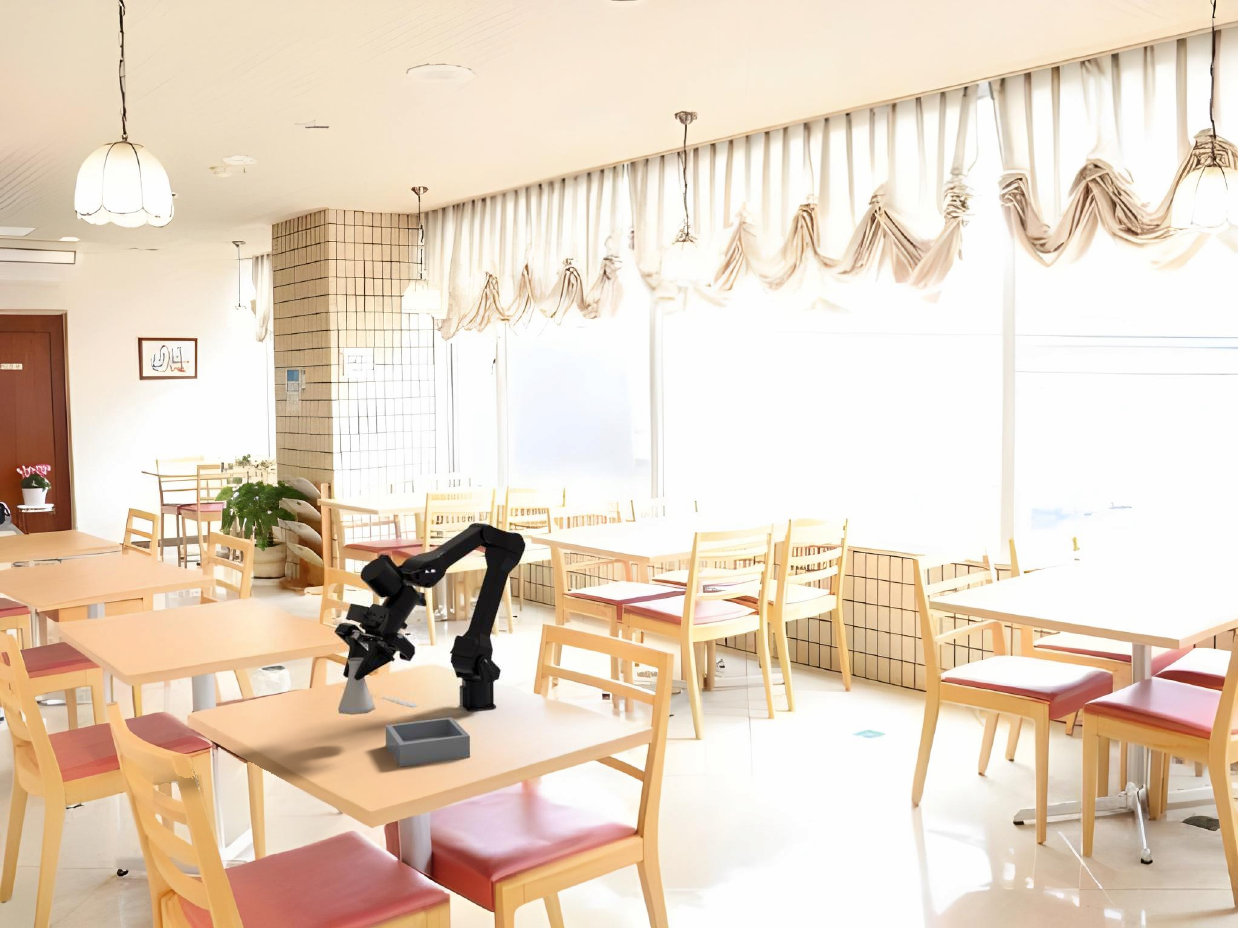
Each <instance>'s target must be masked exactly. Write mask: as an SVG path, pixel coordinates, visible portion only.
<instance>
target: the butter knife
mask: <svg viewBox="0 0 1238 928" xmlns="http://www.w3.org/2000/svg"><path fill="white" fill-rule="evenodd" d="M380 696H381V695H380ZM381 697H382V698H381V699H382V700H385V699H387V700H386V701H390V702H392V703H395V702H396V703H395V704H398V705H401V706H404V705H406V707H410V708H417V707H418V704H416V703H414V702H409V701H405V700H400V699H395V698H391V697H386V696H381Z"/></svg>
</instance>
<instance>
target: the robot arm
mask: <svg viewBox="0 0 1238 928" xmlns="http://www.w3.org/2000/svg"><path fill="white" fill-rule="evenodd" d="M479 547H482V548H485V550H484V558H485V563H486V571H485V574H484V578H483V580H482V583H481V587H480V590H479V594H478V597H477V600H476V602H475V603H476V604H475V606H474V609H473V613H472V616H471V620H470V623H469V627H468V629H467V630H466V632H465V633H464V634H462V635H456V636H455V638H454V642H453V646H452V648H451V649H450V652H449V654H451V655H450V664H451V665H452V668H453V669H454V670H453V671H454V673H455V676H456V678H457V679H458V678H459V679H461V685H459V704H460V706H461V707H462V708H463V709H464V710H465V711H466V712H475V711H476V712H477V711H482V710H491V709H496V708H497V705H496V704H495V703H494V702H495V700H494V698H495V697H494V696H495V695H494V693H495V692H494V690H495V689H494V687H495V686H494V683H495V682H496V681H497V680H499V679H500V675H501V670H502V669H501V668H500V667H499V666H498V665H497V664H496V663H495V662H494V661H493V660H492V658H493V651H494V650H493V644H492V640H491V639H492V638H491V634H492V631H493V628H494V625H495V621H496V618H497V614H498V611H499V607H500V604H501V601H502V597H503V595H504V591H505V588H506V584H507V581H508V578H509V575H510V573H511V572H512V571H513V570H514V569H515V568H516V567H517V566H518V564H520V562H521V561H522V560H521V559H522V557H523V555H524V553H525V550H526V542H525V539H524V537H523V536H522V534H520V533H519V532H513V531H505V530H502V529H500V528H497V527H496V526H493V525H491V524H489V523H483V522H482V523H481V522H480V523H479V522H473V523H471V524H469V525H468V526H467V528H465V529H464V530H462V531H461V532H459V533H458V534H457V535H455V536H453V537H452V538H450V539H448V540H447V541H445V542H444V543H443V544H441V545H439V546H438V547H437V548H435V549H433V550H430V551H427V552H423V553H418V554H416V555H413V556H411V557H409V558H407V559H405V560H404V561H403V562H402V564H400V565H397V564H396V563H395V562H394V561H393V559H392V558H391V557H390V556H389V554H384V553H381V554H379V556H378V558H375V559H373V560H371V561H369V563H367V564H366V565H364V567H363V568H362V570H361V572H360V579H361V581H363V582H364V584H365V585H366V586H368V588H369V589H371V590H372V592H373V593H375V595H376V596H377V597H379V598H381V599H383V598H385V599H384V601H383V602H382V604H381V605H380V604H377V603H376V604H375V603H372V604H371V605H370V606H365V605H362V604H356V603H350V604H349V608H348V610H347V614H346V616H345V620H346V621H353V622H355V623H359V625H357V624H355V623H349V622H340V623H339V624H338V626H337V627H336V628H335V630H334V633H335V635H337V637H339V639H341V640H342V641H343V642H344V643H345V644H346V645H347V646H348V647H349V648H348V655H347V659H346V661H345V662H346V663H345V667H344V670H343V673H342V675H343V677H344V678H346V679H348V675H349V664H348V659H350V658H364V659H363V661H362V663H361V665H360V666H359V668H358V670H357V672H356V674H355V676H354V678H355V679H356V680H357V681H359V680H360V679H362V678H363V677H364V678H366V676H368V675H370V674H371V673H373V672H375V671H376V670H378V669H379V668H381V667H383V666H385V665H387V664H389V663H390V662H395V660H396V658H395V657H394V656H395V654H396V653H397V652H399V653H398V655H399V659H400V660H402V661H406V662H411V661H412V659H413V657H414V656H415V655H416V647H415V646H414V644H412V642H411V641H410V640H409V639H408V638H407V637H406V636H404V635H403V634H402V633H400V631H401V630H406V629H407V627H408V624H407V623H406V621H407V620H408V617H409V616H410V615H411V614H412V611H413V610H414V608H415V607H416V606H418V607H419V606H420V607H427V600H426V594H425V592H422V591H421V592H420V591H418V590H417V589H416V588H415V587H418V588H423V589H432V588H434V587H435V586H436V585H437V584H438V583H440V581H441V580H442V579H443V578H444V577H445V575H446V573H447V571H448V569H449V568H450V567H451V566H453V565H455V564H456V563H457V562H459V561H460V560H461V559H463V558H465V557H466V556H468V555H469V554H471V553H472V552H473V551H475V550H477V549H478V548H479ZM358 626H359V627H360V628H359V627H358ZM361 629H362V630H361ZM363 630H364V631H363Z"/></svg>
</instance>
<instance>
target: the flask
mask: <svg viewBox="0 0 1238 928" xmlns="http://www.w3.org/2000/svg"><path fill="white" fill-rule="evenodd" d="M363 659H364V658H350V659H348V664H349V675H348V678H347V680H346V683H345V687H344V690H343V694H342V696H341V699H340V702H339V704H338V705H339V706H338V714H345V715H352V716H353V715H362V714H369V713H370V712H372V711H374V710H376V706H375V703H374V700H373V698H372V697H373V696H372V695H371V693H370V690H369V687H368V684H367V681H366V677H363V678H362V679H360V680H359V681H357V680H356V679H355V678H354V676H355V674H356V672H357V670H358V668H359V666H360V665H361V663H362V661H363Z"/></svg>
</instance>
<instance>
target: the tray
mask: <svg viewBox="0 0 1238 928" xmlns="http://www.w3.org/2000/svg"><path fill="white" fill-rule="evenodd" d="M470 737H471V736H470V735H469V733H468V732H467V731H466V730H465V729H464V728H463V727H462V726H461V725H460V724H459V723H458V722H457V721H456V720H455V719H454V718H453V717H451V716H450V717H443V718H435V719H426V720H418V721H410V722H401V723H394V724H393V723H392V724H386V725H385V746H386V748H387V750H388V751H389V752H390V754H391V755H392V757H393V758H394V760H395V761H396V763H397V764H398V766H399V767H400V768H401V767H408V766H415V765H423V764H431V763H436V762H437V763H438V762H444V761H451V760H458V759H459V760H460V759H465V758H470V757H471V743H470V742H471V739H470Z"/></svg>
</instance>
